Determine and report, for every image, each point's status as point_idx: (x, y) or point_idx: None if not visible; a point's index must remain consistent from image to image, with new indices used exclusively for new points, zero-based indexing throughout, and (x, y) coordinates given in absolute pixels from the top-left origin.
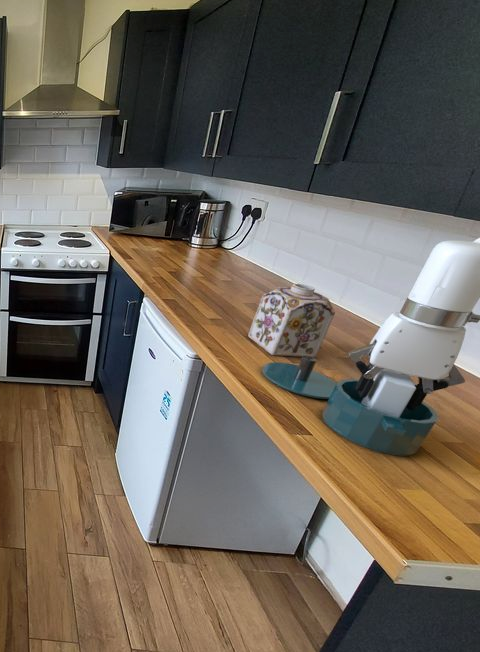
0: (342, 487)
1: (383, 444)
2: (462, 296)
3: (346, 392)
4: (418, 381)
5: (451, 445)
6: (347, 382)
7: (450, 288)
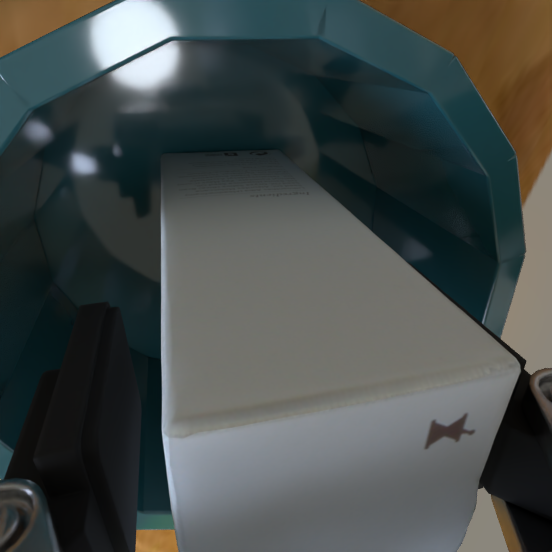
0: None
1: None
2: None
3: (45, 122)
4: (545, 425)
5: (527, 98)
6: None
7: None
